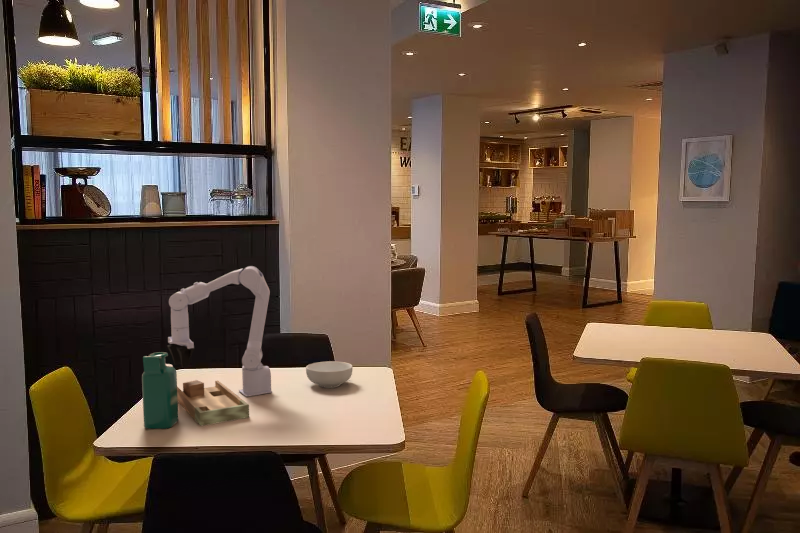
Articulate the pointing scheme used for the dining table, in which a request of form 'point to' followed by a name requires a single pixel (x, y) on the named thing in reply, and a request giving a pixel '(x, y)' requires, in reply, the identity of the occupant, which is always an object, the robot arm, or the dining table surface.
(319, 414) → the dining table surface
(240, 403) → the trap box
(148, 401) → the green bottle
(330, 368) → the cereal bowl
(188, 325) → the robot arm
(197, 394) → the block
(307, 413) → the dining table surface
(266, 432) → the dining table surface
